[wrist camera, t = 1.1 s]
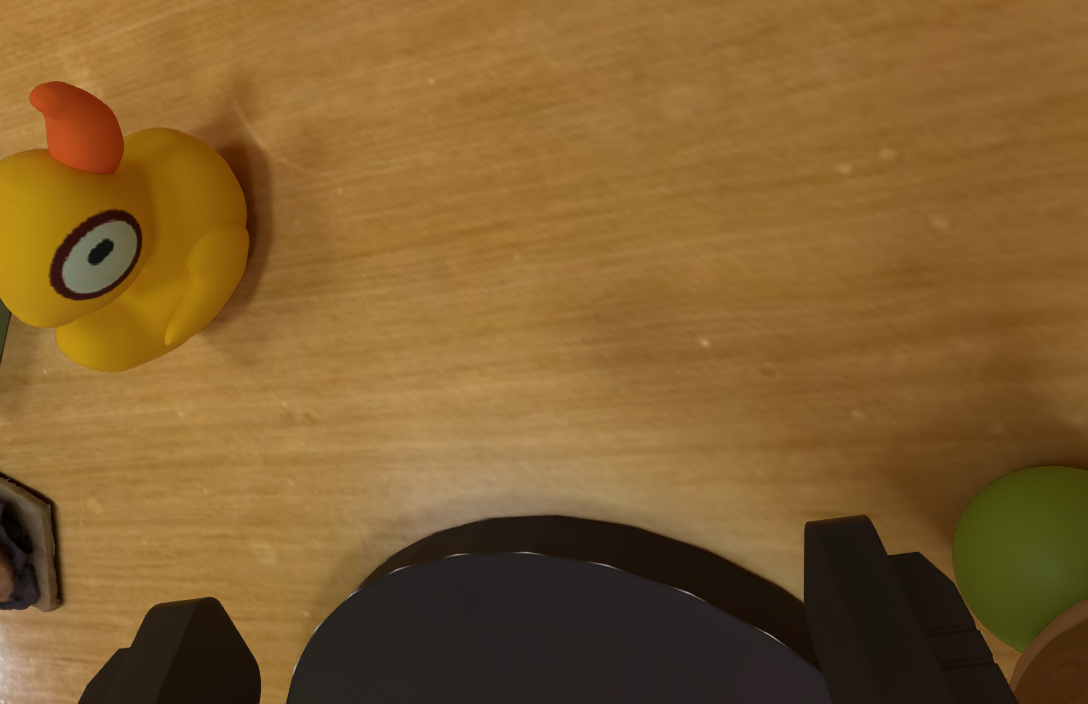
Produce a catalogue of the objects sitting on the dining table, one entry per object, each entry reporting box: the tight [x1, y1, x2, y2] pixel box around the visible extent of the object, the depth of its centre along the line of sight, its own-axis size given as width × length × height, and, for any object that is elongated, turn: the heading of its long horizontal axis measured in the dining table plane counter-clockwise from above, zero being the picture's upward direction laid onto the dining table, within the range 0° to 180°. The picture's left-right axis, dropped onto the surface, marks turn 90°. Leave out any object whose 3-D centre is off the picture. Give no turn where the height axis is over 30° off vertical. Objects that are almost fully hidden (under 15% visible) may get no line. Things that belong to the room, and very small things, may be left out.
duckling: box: [0, 81, 249, 373], centre depth 28 cm, size 11×5×10 cm, turn 155°
